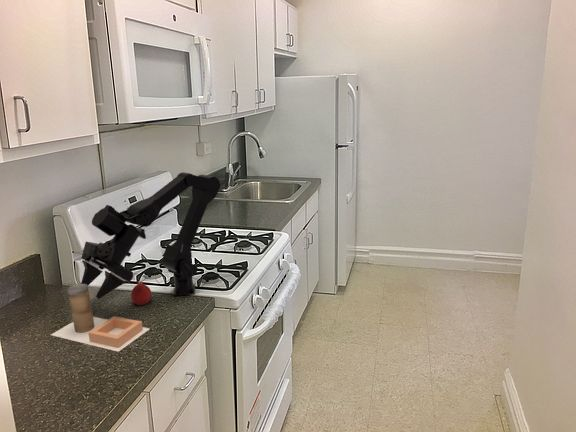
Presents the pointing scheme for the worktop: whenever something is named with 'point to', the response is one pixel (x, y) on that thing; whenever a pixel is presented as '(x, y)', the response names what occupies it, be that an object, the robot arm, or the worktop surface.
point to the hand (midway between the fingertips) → (89, 293)
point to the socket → (105, 338)
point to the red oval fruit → (141, 294)
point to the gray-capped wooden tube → (81, 308)
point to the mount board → (70, 333)
